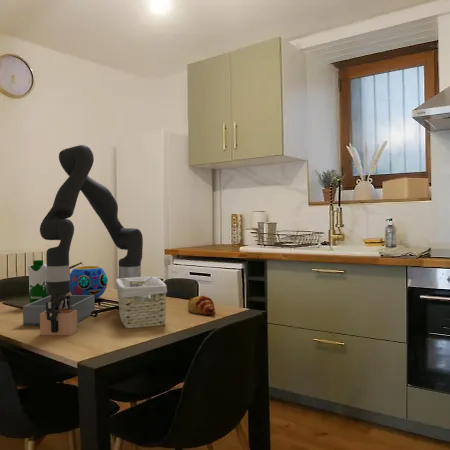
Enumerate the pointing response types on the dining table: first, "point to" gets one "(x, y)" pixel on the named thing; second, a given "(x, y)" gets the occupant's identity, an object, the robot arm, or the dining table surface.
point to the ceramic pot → (88, 281)
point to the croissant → (201, 305)
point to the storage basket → (142, 301)
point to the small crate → (60, 323)
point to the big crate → (34, 309)
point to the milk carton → (37, 280)
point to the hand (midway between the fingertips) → (59, 329)
